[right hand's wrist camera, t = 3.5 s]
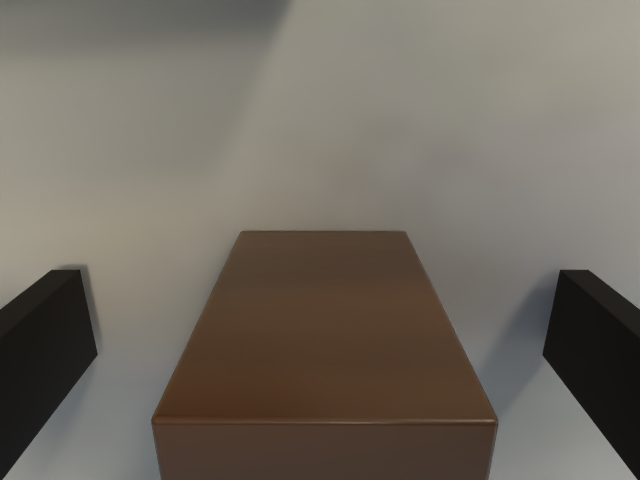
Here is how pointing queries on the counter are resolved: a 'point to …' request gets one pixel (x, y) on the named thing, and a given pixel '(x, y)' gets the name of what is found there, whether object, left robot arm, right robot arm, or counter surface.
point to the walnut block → (324, 370)
